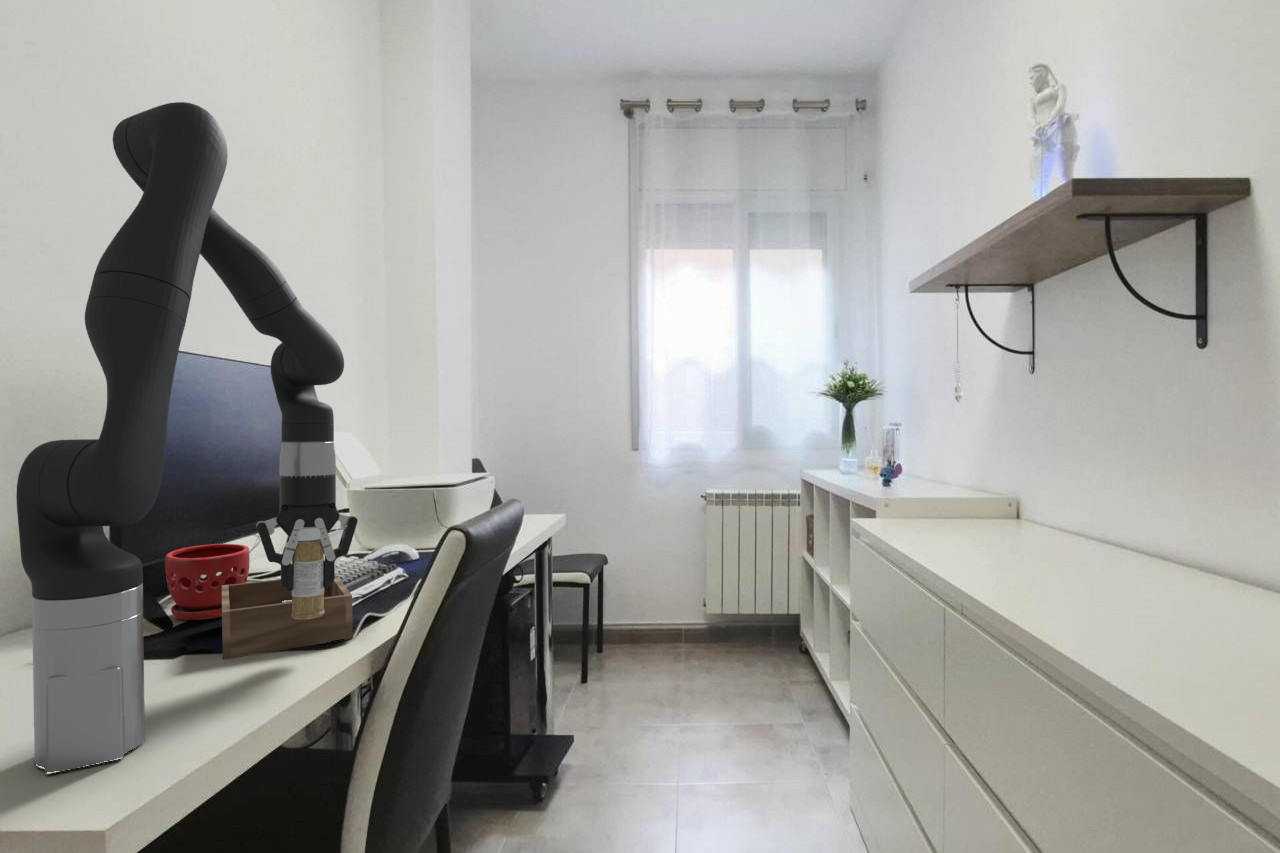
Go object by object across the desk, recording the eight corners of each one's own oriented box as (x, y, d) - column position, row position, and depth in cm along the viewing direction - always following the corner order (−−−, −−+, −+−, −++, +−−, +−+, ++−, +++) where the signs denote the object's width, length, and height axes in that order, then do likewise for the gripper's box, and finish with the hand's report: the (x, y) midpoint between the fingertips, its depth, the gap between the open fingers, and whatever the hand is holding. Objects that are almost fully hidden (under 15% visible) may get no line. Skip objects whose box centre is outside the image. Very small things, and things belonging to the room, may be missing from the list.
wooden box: (352, 638, 111) (352, 595, 111) (222, 659, 102) (222, 612, 102) (335, 610, 128) (334, 572, 128) (222, 625, 119) (221, 585, 119)
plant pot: (149, 620, 123) (148, 553, 123) (218, 602, 135) (218, 541, 135) (198, 628, 118) (197, 558, 118) (266, 608, 130) (265, 545, 130)
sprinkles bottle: (300, 612, 104) (300, 523, 104) (330, 612, 104) (330, 523, 104) (284, 620, 100) (284, 527, 100) (315, 620, 100) (315, 527, 100)
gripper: (253, 475, 95) (253, 599, 95) (363, 471, 103) (363, 586, 103) (252, 473, 102) (252, 589, 102) (355, 470, 109) (355, 578, 109)
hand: (308, 587), depth 102 cm, fingers closed on sprinkles bottle, 4 cm apart
